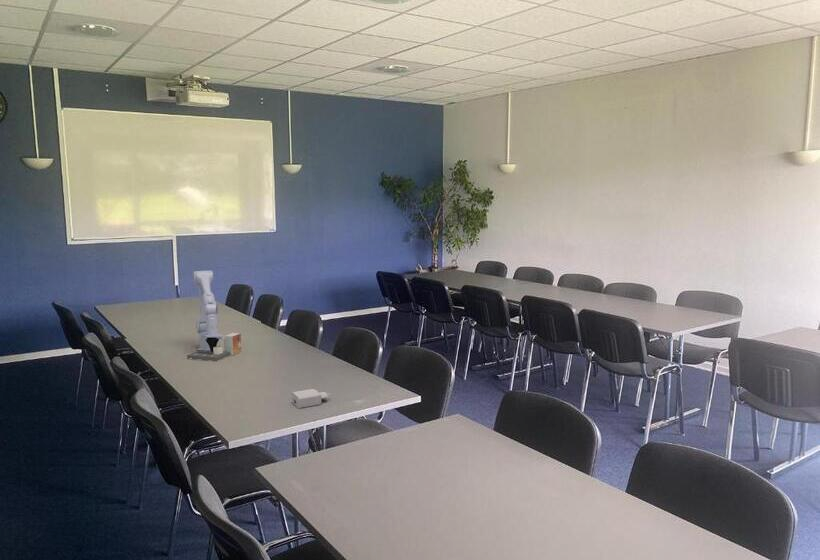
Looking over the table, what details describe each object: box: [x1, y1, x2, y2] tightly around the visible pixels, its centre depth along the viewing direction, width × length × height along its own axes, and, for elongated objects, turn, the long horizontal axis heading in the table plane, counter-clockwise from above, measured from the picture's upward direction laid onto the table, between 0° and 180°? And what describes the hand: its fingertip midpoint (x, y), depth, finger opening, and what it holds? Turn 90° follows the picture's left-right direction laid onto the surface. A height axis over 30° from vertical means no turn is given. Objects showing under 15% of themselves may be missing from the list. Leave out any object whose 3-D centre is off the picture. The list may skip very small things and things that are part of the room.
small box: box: [223, 332, 242, 356], centre depth 323 cm, size 8×6×10 cm
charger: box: [291, 388, 332, 409], centre depth 243 cm, size 5×9×15 cm
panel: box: [186, 350, 231, 362], centre depth 316 cm, size 12×18×2 cm, turn 73°
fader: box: [213, 345, 224, 355], centre depth 314 cm, size 4×3×4 cm
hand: (213, 351), depth 315 cm, fingers closed
